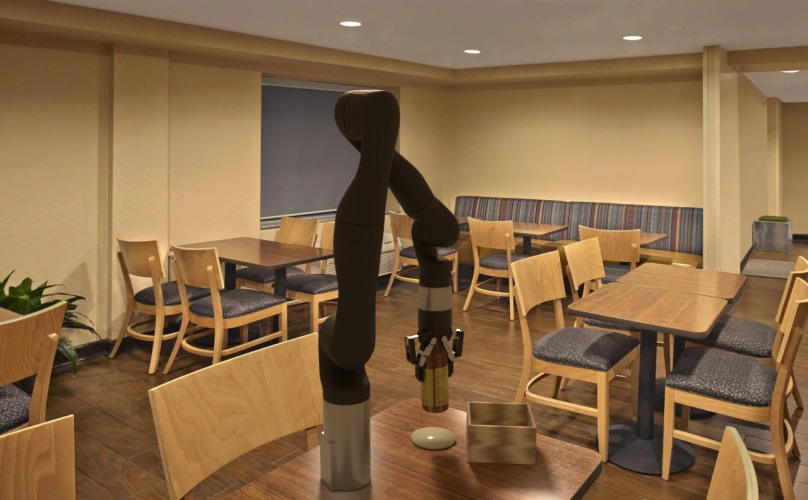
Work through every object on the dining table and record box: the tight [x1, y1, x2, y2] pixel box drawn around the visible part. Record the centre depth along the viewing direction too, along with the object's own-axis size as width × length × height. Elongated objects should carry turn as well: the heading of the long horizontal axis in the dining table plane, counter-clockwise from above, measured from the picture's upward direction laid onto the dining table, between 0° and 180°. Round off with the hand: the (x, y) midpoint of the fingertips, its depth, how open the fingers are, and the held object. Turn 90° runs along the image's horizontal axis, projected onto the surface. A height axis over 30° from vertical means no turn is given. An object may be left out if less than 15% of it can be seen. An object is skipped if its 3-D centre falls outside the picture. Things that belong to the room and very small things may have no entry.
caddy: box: [465, 400, 538, 465], centre depth 140 cm, size 14×13×8 cm
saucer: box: [410, 426, 457, 450], centre depth 146 cm, size 10×10×1 cm
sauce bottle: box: [420, 330, 450, 414], centre depth 143 cm, size 6×6×20 cm
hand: (434, 378), depth 143 cm, fingers closed on sauce bottle, 6 cm apart
